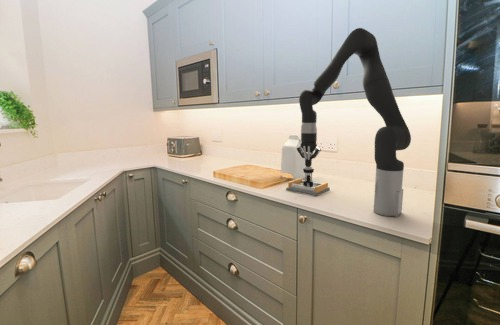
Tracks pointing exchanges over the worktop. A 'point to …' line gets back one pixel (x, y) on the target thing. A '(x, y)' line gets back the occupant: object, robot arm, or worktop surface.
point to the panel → (318, 191)
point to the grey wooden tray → (306, 188)
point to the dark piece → (308, 177)
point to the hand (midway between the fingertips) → (308, 166)
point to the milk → (292, 158)
